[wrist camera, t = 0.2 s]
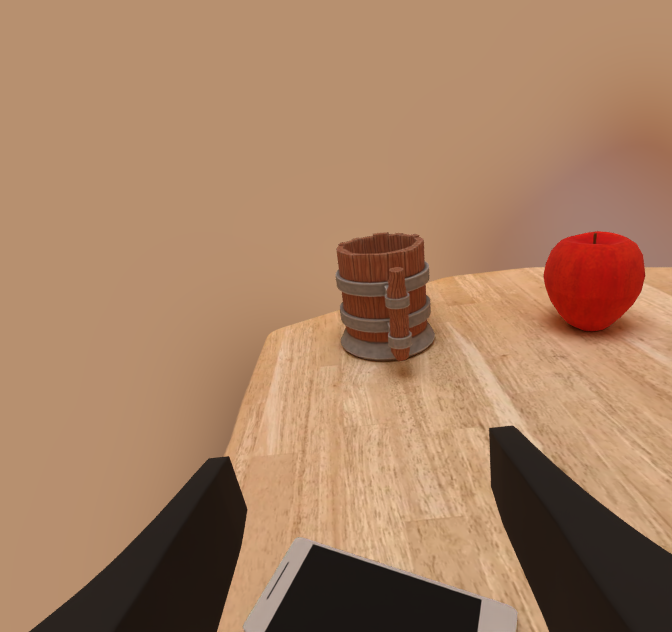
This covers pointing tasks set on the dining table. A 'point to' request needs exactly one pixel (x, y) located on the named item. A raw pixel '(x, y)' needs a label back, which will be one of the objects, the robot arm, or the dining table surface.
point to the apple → (594, 278)
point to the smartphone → (366, 598)
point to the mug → (384, 296)
